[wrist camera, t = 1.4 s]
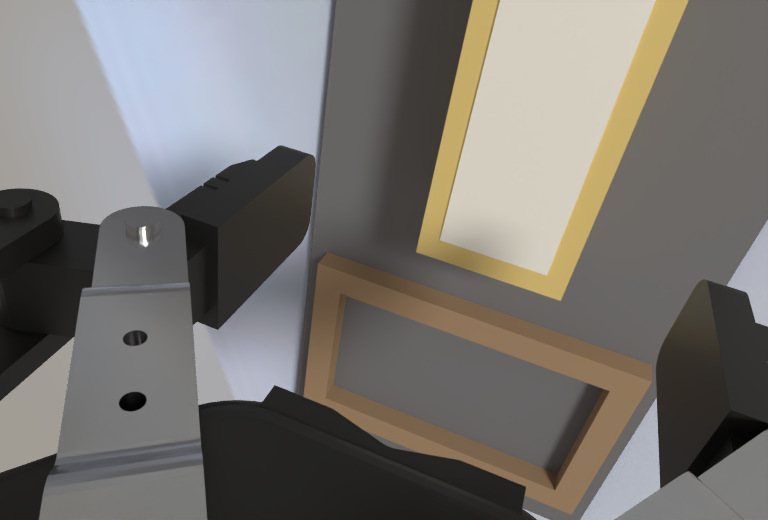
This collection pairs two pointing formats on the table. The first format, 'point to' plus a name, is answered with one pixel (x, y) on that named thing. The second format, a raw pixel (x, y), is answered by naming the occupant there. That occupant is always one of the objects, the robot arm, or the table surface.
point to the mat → (506, 301)
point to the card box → (539, 131)
